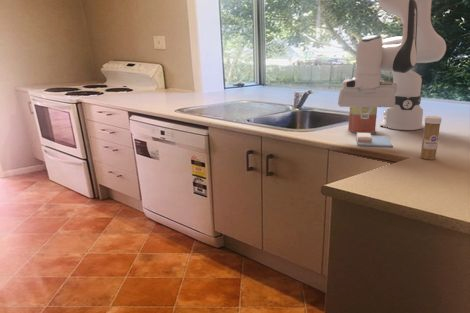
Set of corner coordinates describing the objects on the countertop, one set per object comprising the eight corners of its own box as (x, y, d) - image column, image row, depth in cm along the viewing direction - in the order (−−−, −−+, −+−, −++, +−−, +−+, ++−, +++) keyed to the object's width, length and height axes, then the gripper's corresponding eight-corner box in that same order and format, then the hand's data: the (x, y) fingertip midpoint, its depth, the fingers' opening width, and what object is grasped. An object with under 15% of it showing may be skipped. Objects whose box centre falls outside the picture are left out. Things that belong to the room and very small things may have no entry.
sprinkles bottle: (426, 160, 117) (432, 118, 113) (416, 156, 121) (422, 115, 117) (439, 159, 117) (445, 117, 114) (429, 155, 122) (434, 115, 118)
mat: (355, 136, 150) (355, 134, 150) (387, 137, 147) (387, 136, 147) (357, 145, 135) (357, 144, 135) (392, 147, 132) (392, 145, 132)
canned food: (377, 129, 163) (380, 102, 159) (372, 134, 153) (375, 105, 150) (351, 127, 168) (353, 100, 165) (345, 131, 159) (346, 103, 156)
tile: (369, 137, 145) (356, 136, 146) (370, 133, 145) (356, 132, 146) (371, 142, 138) (357, 141, 139) (372, 137, 137) (358, 137, 138)
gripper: (396, 80, 137) (392, 117, 141) (339, 80, 142) (337, 116, 146) (398, 82, 131) (395, 120, 135) (339, 82, 136) (337, 119, 140)
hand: (364, 118), depth 141 cm, fingers closed
